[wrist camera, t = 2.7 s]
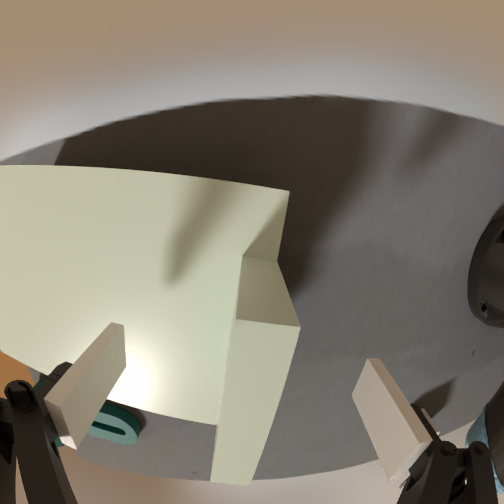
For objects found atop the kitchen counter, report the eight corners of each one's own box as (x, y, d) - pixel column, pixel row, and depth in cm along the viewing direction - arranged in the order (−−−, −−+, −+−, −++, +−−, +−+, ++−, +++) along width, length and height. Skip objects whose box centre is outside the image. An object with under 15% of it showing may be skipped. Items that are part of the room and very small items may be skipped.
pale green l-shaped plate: (284, 190, 18) (329, 195, 7) (241, 406, 22) (239, 510, 11) (4, 165, 17) (-84, 170, 6) (15, 339, 21) (-44, 389, 10)
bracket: (52, 409, 33) (31, 437, 25) (39, 380, 31) (14, 407, 23) (144, 438, 33) (131, 476, 25) (136, 409, 32) (119, 450, 24)
